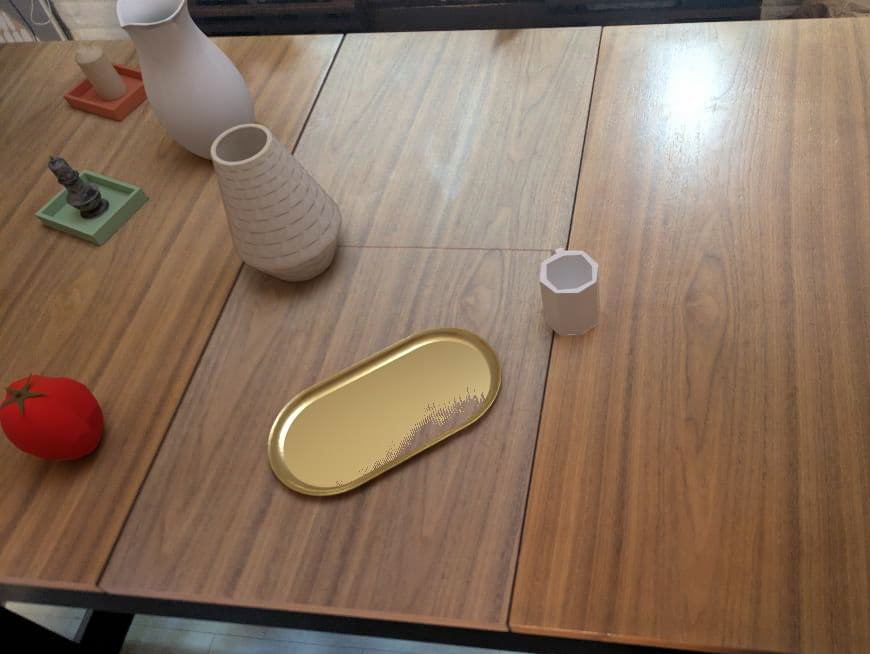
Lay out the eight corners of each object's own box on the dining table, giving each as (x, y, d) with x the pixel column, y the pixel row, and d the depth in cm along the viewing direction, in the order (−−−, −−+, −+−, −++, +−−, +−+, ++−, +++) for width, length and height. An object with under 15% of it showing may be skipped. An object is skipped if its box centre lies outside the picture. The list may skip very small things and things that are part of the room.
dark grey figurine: (77, 204, 130) (31, 151, 120) (109, 193, 131) (66, 139, 121) (79, 224, 127) (32, 172, 117) (112, 213, 128) (68, 160, 118)
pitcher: (281, 144, 135) (210, -3, 111) (199, 184, 131) (106, 41, 107) (236, 86, 146) (162, -59, 122) (159, 121, 142) (68, -21, 118)
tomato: (67, 492, 99) (-3, 448, 88) (29, 442, 104) (-42, 395, 93) (138, 436, 103) (80, 387, 92) (98, 391, 108) (38, 339, 97)
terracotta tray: (70, 106, 148) (62, 95, 145) (112, 71, 153) (105, 60, 151) (120, 121, 143) (113, 110, 141) (162, 84, 149) (155, 73, 146)
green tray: (44, 225, 129) (34, 214, 127) (93, 179, 134) (84, 169, 132) (101, 246, 125) (91, 235, 122) (149, 198, 130) (140, 187, 128)
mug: (608, 328, 105) (607, 284, 97) (552, 343, 105) (547, 301, 96) (583, 270, 111) (580, 225, 103) (531, 285, 111) (524, 240, 102)
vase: (232, 285, 117) (154, 174, 97) (285, 211, 125) (223, 96, 105) (322, 307, 112) (260, 197, 93) (372, 230, 120) (324, 113, 101)
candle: (107, 105, 146) (75, 59, 137) (97, 93, 148) (65, 48, 139) (131, 92, 147) (102, 46, 139) (121, 81, 150) (91, 36, 141)
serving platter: (526, 399, 100) (525, 393, 99) (298, 525, 93) (293, 520, 92) (466, 313, 109) (464, 307, 108) (254, 422, 102) (249, 417, 101)
